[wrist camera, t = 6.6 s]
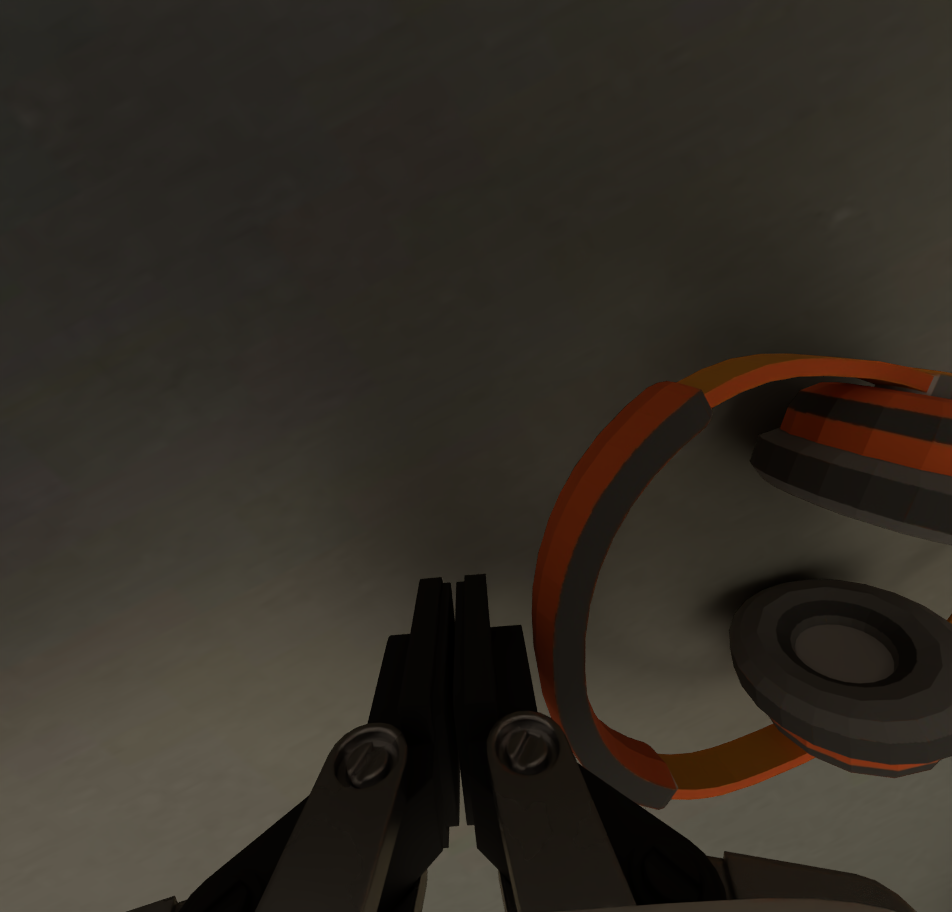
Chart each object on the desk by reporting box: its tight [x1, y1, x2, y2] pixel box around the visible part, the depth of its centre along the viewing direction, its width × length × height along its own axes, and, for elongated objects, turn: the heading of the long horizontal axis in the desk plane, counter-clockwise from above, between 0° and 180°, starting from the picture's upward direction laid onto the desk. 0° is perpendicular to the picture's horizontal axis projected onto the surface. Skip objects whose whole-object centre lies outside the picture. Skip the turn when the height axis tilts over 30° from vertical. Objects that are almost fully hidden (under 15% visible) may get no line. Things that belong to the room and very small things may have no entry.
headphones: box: [532, 353, 952, 810], centre depth 12 cm, size 17×5×20 cm
